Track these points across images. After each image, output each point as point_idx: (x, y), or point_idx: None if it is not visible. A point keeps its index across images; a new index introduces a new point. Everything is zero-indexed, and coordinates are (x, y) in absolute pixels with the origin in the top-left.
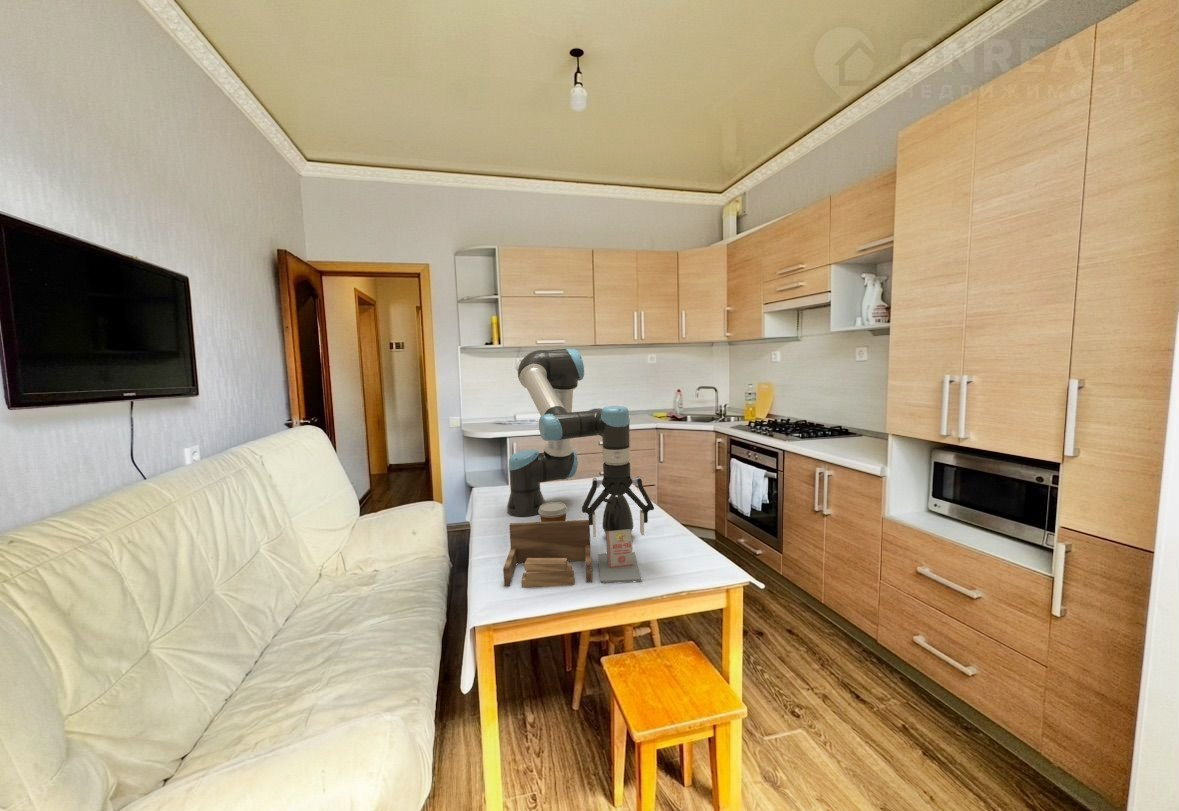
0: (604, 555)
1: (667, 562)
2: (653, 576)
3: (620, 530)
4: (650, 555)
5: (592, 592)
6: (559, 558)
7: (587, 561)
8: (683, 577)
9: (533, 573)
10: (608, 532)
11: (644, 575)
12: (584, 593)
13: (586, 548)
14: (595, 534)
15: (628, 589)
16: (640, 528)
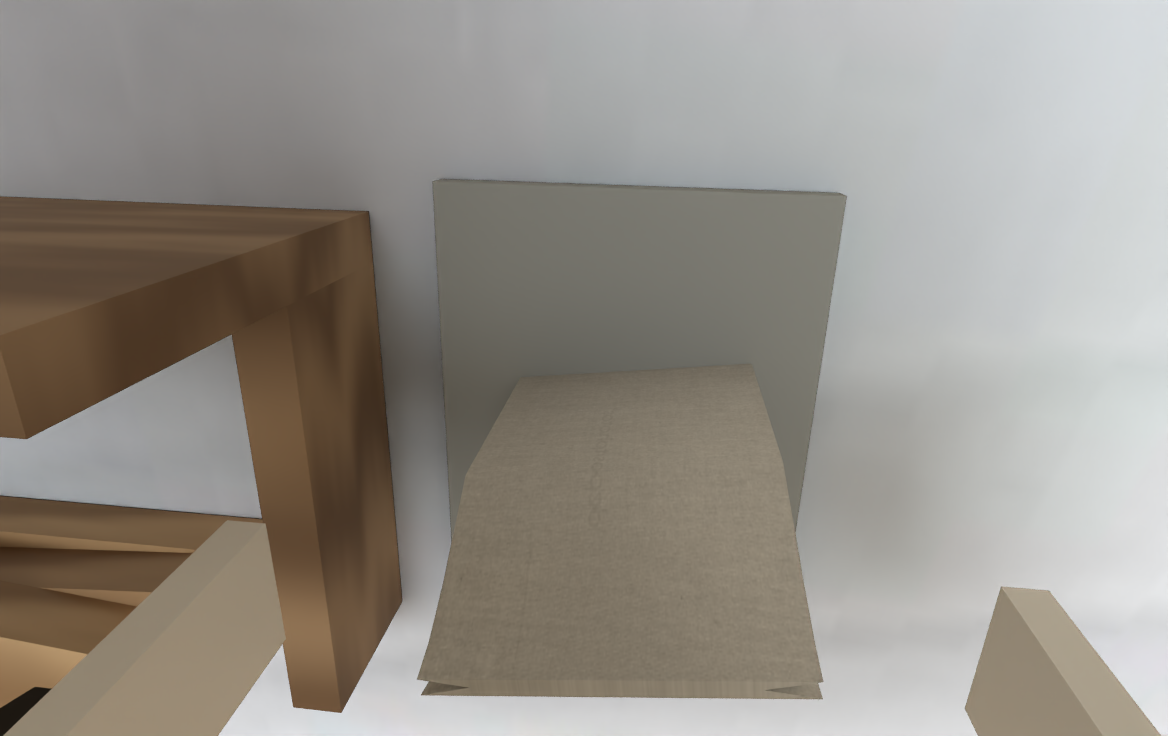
0: (499, 231)
1: (1127, 412)
2: (888, 610)
3: (640, 692)
4: (1013, 234)
5: (412, 707)
6: (30, 646)
7: (302, 662)
8: (1133, 665)
9: None
10: (443, 688)
11: (819, 585)
12: (362, 707)
13: (255, 407)
14: (257, 667)
15: (653, 722)
16: (1025, 663)
